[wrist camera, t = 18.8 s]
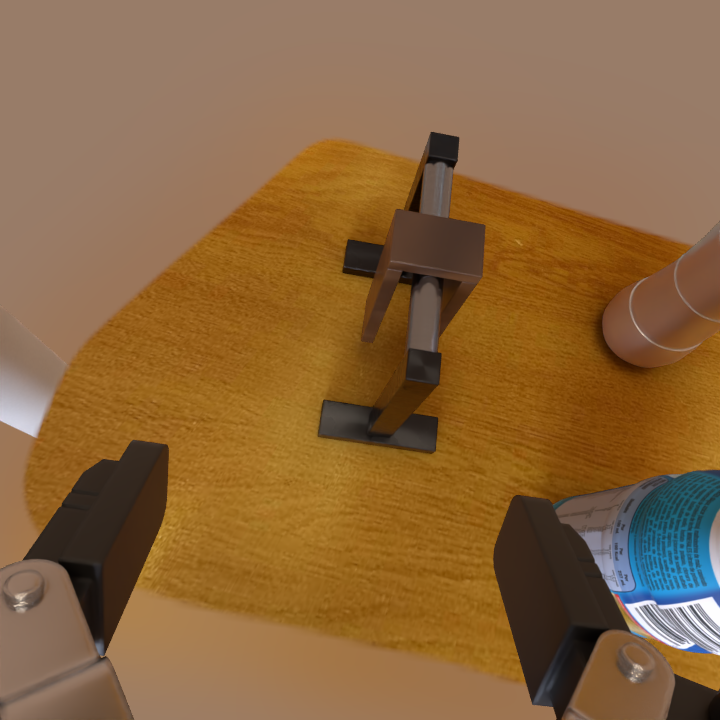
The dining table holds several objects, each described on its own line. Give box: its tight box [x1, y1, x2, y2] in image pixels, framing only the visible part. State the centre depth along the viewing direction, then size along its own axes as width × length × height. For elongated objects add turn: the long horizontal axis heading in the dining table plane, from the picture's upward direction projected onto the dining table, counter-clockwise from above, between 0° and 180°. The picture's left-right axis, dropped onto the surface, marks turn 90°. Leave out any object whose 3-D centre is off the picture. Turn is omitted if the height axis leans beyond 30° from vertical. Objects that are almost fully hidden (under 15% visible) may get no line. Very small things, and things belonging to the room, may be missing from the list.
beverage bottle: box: [553, 470, 720, 655], centre depth 29 cm, size 8×8×20 cm
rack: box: [318, 132, 459, 454], centre depth 35 cm, size 8×15×14 cm, turn 173°
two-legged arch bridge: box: [361, 209, 485, 343], centre depth 33 cm, size 5×3×11 cm, turn 83°
